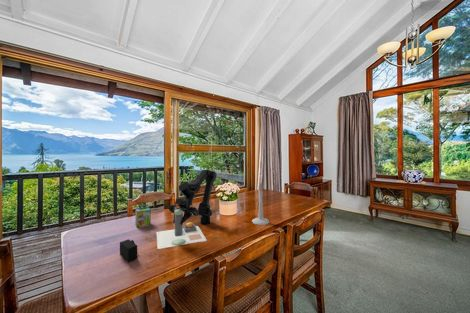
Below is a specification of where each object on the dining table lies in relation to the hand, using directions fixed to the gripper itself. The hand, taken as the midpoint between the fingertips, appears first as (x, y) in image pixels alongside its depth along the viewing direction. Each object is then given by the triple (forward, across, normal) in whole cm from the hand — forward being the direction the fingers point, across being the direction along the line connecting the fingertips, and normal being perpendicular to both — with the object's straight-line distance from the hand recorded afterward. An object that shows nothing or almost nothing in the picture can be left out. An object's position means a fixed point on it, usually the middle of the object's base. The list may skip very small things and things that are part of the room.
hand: (177, 223), depth 112 cm
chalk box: (-3, -40, +20) cm, 45 cm away
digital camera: (+22, -14, -5) cm, 27 cm away
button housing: (-6, -4, +22) cm, 23 cm away
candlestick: (-27, +38, +44) cm, 64 cm away
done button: (-7, -4, +20) cm, 22 cm away
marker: (+4, 0, +6) cm, 7 cm away
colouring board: (+2, -4, +14) cm, 15 cm away
